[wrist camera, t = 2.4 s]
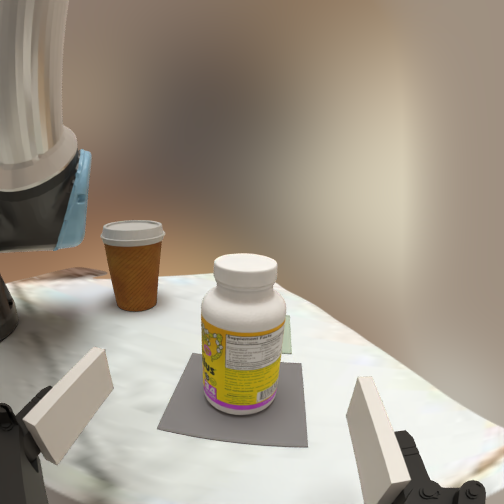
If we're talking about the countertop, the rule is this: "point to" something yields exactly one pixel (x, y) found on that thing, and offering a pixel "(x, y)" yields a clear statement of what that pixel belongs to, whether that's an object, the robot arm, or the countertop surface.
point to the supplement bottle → (242, 334)
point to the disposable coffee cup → (134, 261)
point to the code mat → (239, 426)
